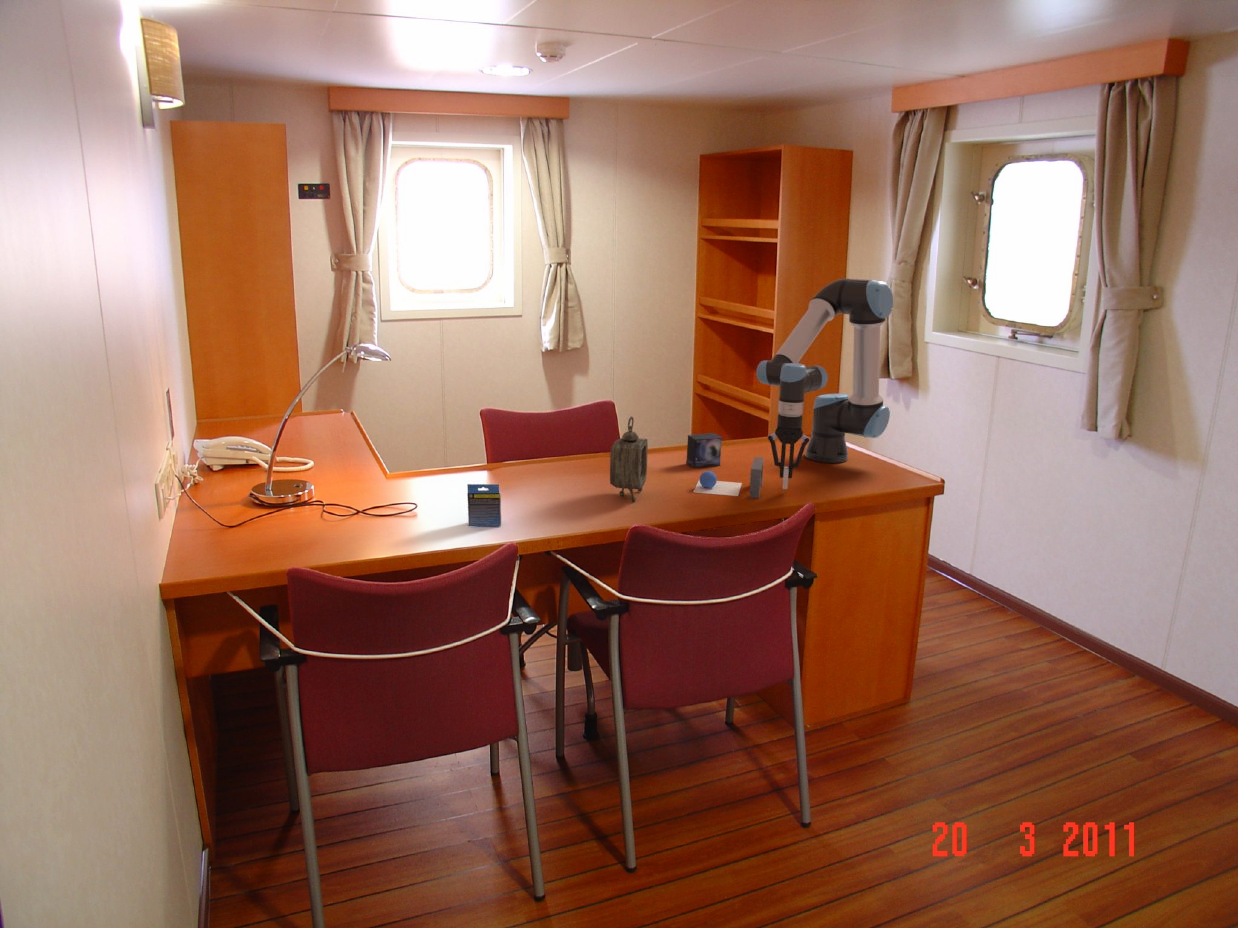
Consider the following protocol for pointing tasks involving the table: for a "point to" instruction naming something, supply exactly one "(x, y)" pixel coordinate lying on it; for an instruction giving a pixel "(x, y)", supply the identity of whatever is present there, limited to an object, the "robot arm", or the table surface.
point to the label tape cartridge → (484, 505)
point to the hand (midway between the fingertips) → (785, 487)
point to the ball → (708, 479)
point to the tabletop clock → (629, 462)
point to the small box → (704, 450)
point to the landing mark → (720, 488)
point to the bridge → (756, 477)
